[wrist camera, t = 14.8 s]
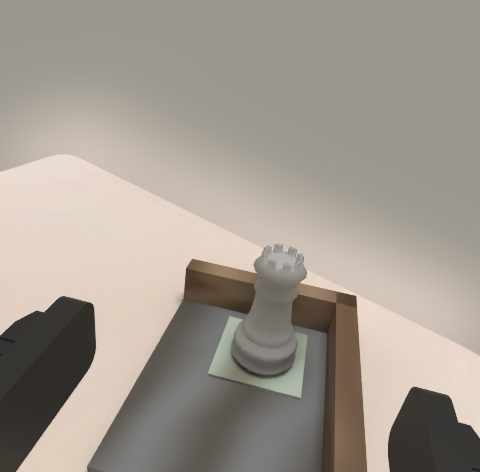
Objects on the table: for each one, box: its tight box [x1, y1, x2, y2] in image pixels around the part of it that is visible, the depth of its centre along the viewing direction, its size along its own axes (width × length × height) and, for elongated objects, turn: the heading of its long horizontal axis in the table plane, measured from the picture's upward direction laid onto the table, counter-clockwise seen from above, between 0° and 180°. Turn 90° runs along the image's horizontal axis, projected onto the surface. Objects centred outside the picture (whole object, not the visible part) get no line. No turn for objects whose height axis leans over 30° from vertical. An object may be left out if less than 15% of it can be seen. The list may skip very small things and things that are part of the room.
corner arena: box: [87, 259, 367, 472], centre depth 26 cm, size 13×16×4 cm
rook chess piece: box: [231, 245, 307, 375], centre depth 27 cm, size 4×4×8 cm
